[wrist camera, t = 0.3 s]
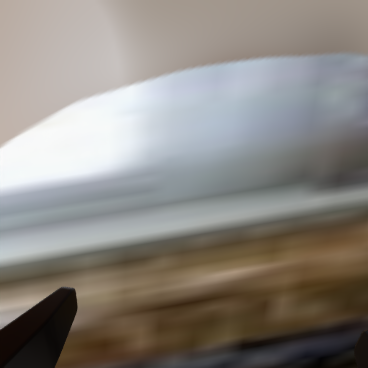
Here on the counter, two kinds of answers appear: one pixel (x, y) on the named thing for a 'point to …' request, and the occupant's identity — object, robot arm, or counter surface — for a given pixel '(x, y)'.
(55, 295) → the robot arm
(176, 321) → the counter surface
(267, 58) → the counter surface
